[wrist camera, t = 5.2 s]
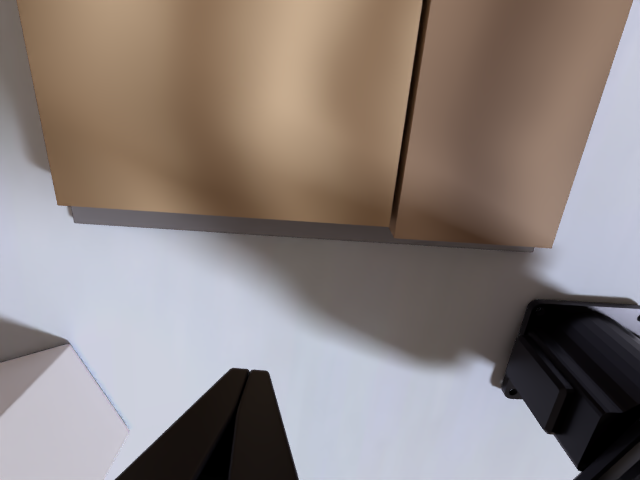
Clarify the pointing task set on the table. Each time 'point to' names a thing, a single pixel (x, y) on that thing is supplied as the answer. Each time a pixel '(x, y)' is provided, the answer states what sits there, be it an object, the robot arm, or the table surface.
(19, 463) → the milk carton
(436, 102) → the walnut plank
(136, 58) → the oak plank
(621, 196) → the table surface
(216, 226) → the underlay mat
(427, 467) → the table surface
